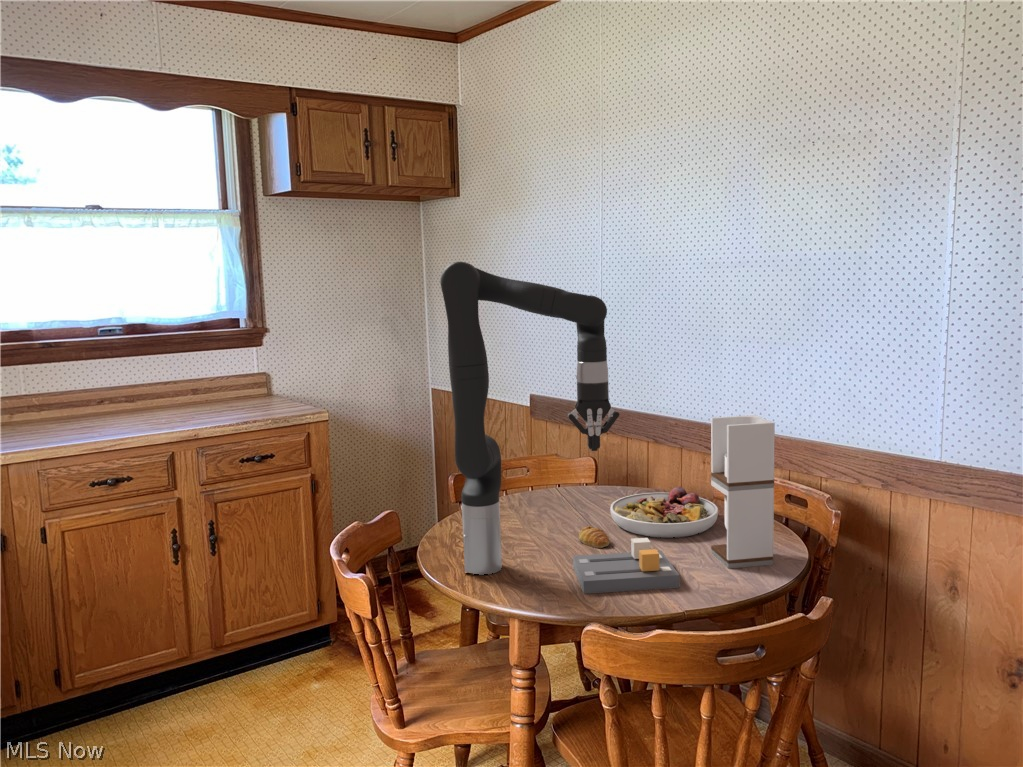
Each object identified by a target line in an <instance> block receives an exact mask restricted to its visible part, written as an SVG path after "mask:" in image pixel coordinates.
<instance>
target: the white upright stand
mask: <svg viewBox="0 0 1023 767" xmlns="http://www.w3.org/2000/svg"><path fill="white" fill-rule="evenodd" d="M710 425H711V426H710V430H711V431H710V432H711V433H710V435H711V436H710V443H711V447H710V451H711V453H710V456H711V457H710V461H711V462H710V468H711V469H710V472H711V474H710V481H711V482H710V485H711V486H712V488H714V489H716V490H717V491H719V492H721V493H722V495H723V494H724V527H725V529H726V543H725V544H714V545H712V544H711V545H710V546H711V547H710V550H711V552H710V553H711V554H712V555H713V556H714V557H715V558H716V559H717V560H718V561H719V562H720V561H721V563H722V564H723V565H724V566H725V567H726V568H727V569H738V568H749V567H760V566H771V565H774V526H775V525H774V524H775V523H774V520H775V519H774V517H775V516H774V515H775V514H774V513H775V512H774V511H775V506H774V505H775V503H774V502H775V442H776V441H775V437H776V436H775V433H776V432H775V431H776V430H775V426H776V422H774V421H771V420H768V419H767V418H763V417H761V416H758V415H756V414H752V415H748V414H747V415H736V416H735V415H734V416H719V417H717V416H716V417H715V416H714V417H711V418H710Z"/></svg>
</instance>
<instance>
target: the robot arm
mask: <svg viewBox="0 0 1023 767" xmlns="http://www.w3.org/2000/svg"><path fill="white" fill-rule="evenodd" d="M439 284H440V289H441V292H442V293H441V294H442V297H443V301H444V307H445V312H446V313H445V314H446V319H447V348H448V349H447V354H448V369H449V371H448V372H449V379H450V380H449V381H450V387H451V388H450V389H451V396H452V397H451V398H452V407H453V409H452V410H453V416H454V460H455V465H456V467H457V469H458V471H459V472H460V474H462V475H463V476H464V477H465V482H464V486H463V487H462V490H461V496H460V497H461V515H462V516H461V517H462V536H463V537H462V540H463V541H462V542H463V560H464V563H463V564H464V573H465V572H469V573H473V574H472V575H474V574H479V575H478V576H485V575H484V574H488V575H493V574H496V573H498V572H500V571H501V570H502V569H503V562H502V561H503V558H502V538H501V536H502V535H501V511H500V507H501V506H500V491H501V488H502V455H501V454H502V453H501V449H500V447H499V444H498V442H497V441H496V440H495V439H494V438H493V437H492V436H490V435H487V434H486V429H485V412H486V407H487V406H486V405H487V400H488V396H489V388H490V375H489V363H488V355H487V350H486V345H485V344H486V343H485V341H484V337H483V333H482V329H481V324H480V319H479V318H480V316H479V301H481V302H482V301H485V302H490V303H491V302H492V303H497V304H501V305H506V306H508V307H511V308H515V309H518V310H522V311H525V312H529V313H533V314H536V315H541V316H544V317H550V318H554V319H563V320H565V321H569V322H572V323H576V332H577V344H576V348H577V349H576V352H577V353H576V354H577V355H576V356H577V357H576V358H577V364H576V365H577V366H576V375H575V376H576V377H575V379H576V393H577V394H576V397H577V398H576V399H577V401H576V404H575V408H574V409H573V410H572V411H570V412H568V413H567V418H568V419H569V421H571V422H572V423H573V425H574V426H576V428H577V430H579V432H580V433H581V434H583V435H586V437H587V439H586V440H587V447H588V449H589V450H590V452H598V449H600V448H601V435H603V434H606V433H608V432H609V430H610V429H611V428H612V426H613V425H614V423H615V422H616V421H617V419H618V418H619V417H620V415H621V414H620V412H619V411H617V410H616V409H614V408H613V407H612V404H611V403H610V398H609V393H610V392H609V367H608V366H609V365H608V360H607V359H608V350H607V348H608V347H607V341H606V337H605V321H606V317H607V314H608V309H607V305H606V303H605V302H604V300H602V298H600V297H598V296H596V295H588V294H584V293H577V292H571V291H567V290H565V289H562V288H559V287H555V286H551V285H547V284H546V285H545V284H542V283H541V284H540V283H535V282H530V281H525V280H524V281H523V280H517V279H511V278H508V277H502V276H500V275H496V274H493V273H490V272H487V271H485V270H482V269H479V268H477V267H475V266H474V265H473V264H471V263H468V262H466V261H454V262H451V263H450V264H448V265H447V266H446V267H445V268H444V269H443V271H442V273H441V275H440V282H439ZM578 414H579V415H578ZM579 416H580V417H581V418H582V419H583V420H584V421H585V426H586V427H584V426H583V425H582V424H581V422H580V421H579V420H578V419H579ZM606 416H608V417H607V419H606V420H605V421H604V423H602V421H603V420H604V418H605V417H606ZM501 568H502V569H501ZM492 573H493V574H492Z"/></svg>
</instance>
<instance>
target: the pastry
mask: <svg viewBox="0 0 1023 767" xmlns="http://www.w3.org/2000/svg"><path fill="white" fill-rule="evenodd" d="M609 538H610V537H609V536H608V534H607V533H605V531H603V529H601V528H599V527H594V526H591V525H588V526H585V527H583V528H581V530H580V532H579V534H578V539H579V542H581V543H583V545H585V546H588V547H590V548H591V547H592V548H594V547H595V549H597V548H598V549H602V548H605V547H608V546H609V545H610V543H611V540H610V539H609Z"/></svg>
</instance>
